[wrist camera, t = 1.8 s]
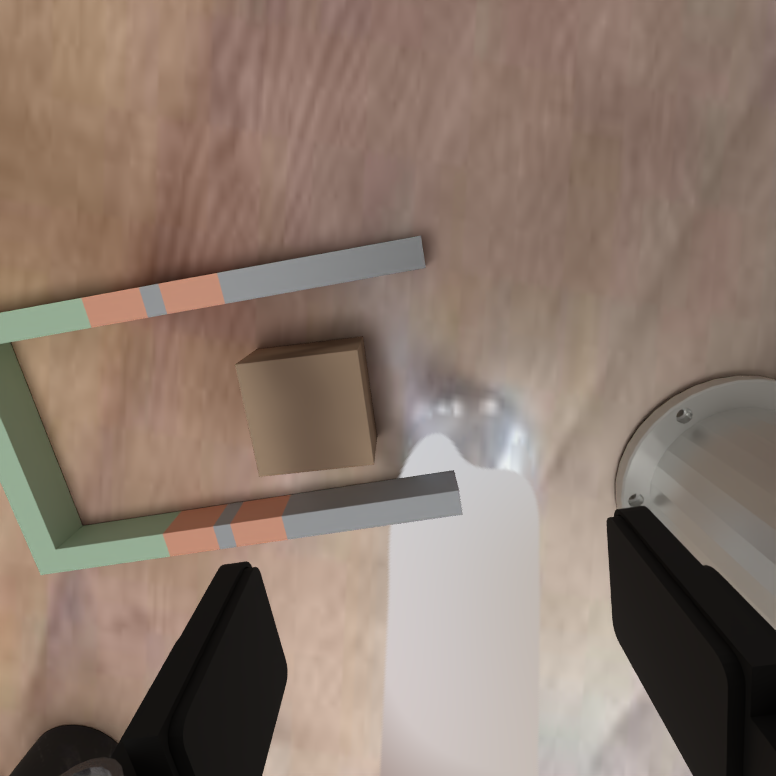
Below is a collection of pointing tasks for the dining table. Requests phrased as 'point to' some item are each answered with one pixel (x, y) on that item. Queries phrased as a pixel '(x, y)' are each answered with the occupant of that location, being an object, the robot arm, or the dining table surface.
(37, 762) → the travel mug
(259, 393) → the walnut block
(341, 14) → the dining table surface
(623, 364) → the dining table surface
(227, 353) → the dining table surface
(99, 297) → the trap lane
